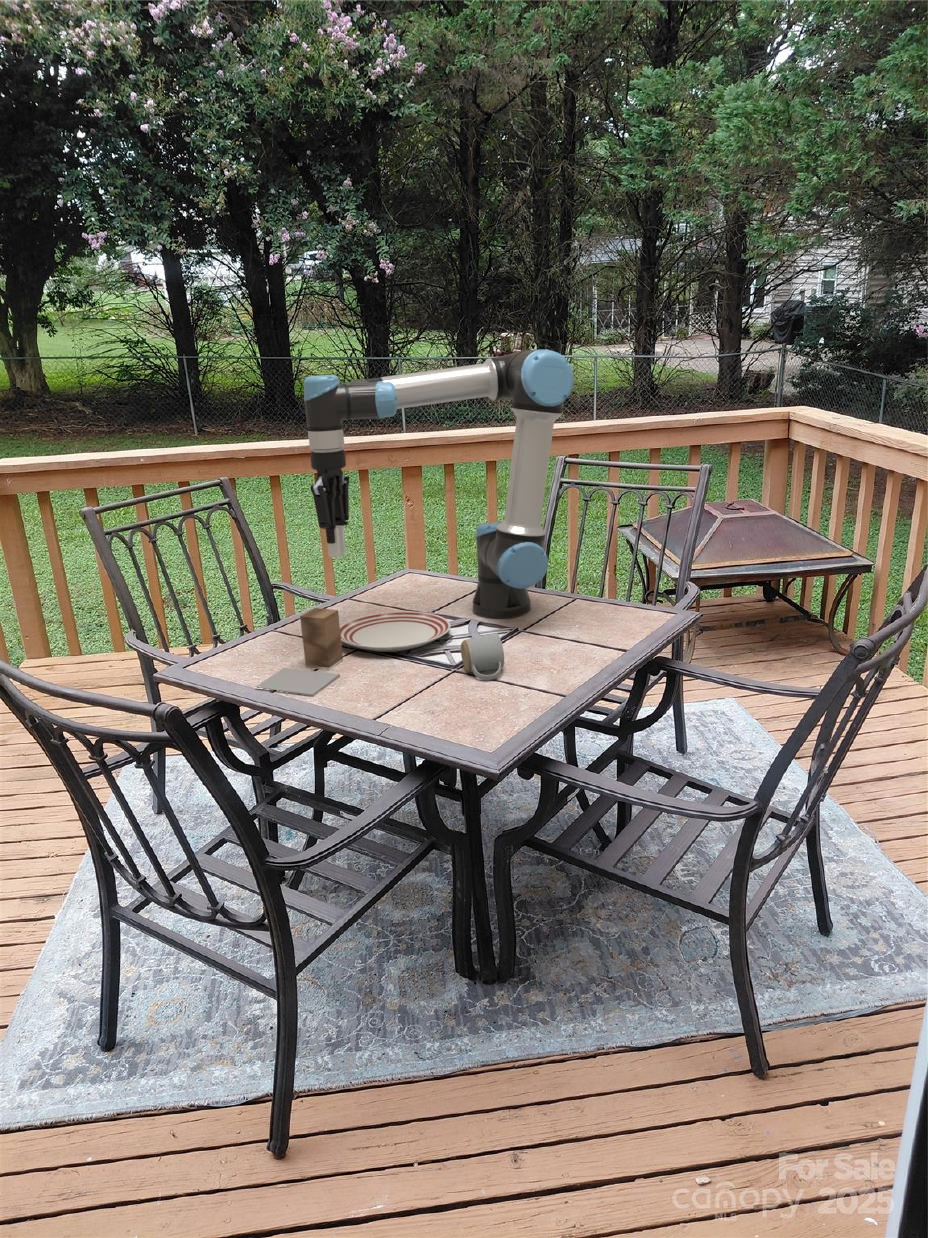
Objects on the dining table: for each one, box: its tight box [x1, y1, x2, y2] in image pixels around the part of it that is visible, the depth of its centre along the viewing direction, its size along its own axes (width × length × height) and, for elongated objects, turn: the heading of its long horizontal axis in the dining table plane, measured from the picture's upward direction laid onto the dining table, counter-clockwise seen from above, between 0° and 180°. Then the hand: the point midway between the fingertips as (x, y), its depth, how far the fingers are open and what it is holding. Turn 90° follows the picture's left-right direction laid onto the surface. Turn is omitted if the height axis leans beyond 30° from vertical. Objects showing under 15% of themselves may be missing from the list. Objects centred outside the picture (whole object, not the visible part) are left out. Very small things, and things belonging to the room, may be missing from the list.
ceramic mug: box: [460, 632, 505, 682], centre depth 177 cm, size 11×8×8 cm
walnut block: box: [299, 607, 344, 671], centre depth 185 cm, size 6×6×12 cm
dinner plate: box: [340, 610, 451, 653], centre depth 200 cm, size 27×27×3 cm
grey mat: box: [255, 667, 340, 697], centre depth 177 cm, size 14×11×1 cm
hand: (337, 555), depth 188 cm, fingers open, 2 cm apart
